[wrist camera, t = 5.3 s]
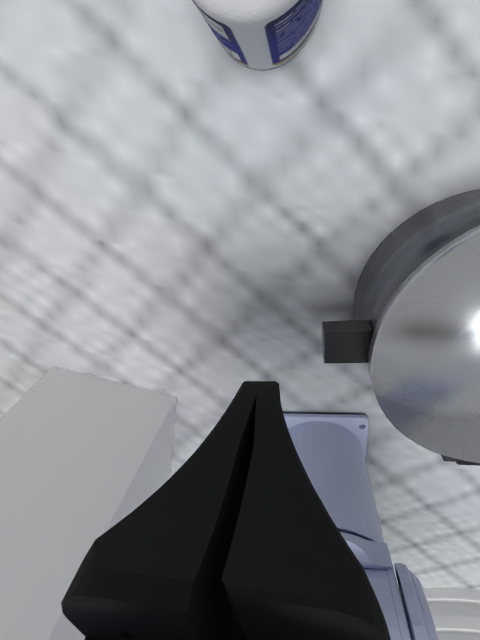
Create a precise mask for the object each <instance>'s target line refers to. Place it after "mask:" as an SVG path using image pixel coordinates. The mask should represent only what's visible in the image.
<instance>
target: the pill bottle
mask: <svg viewBox="0 0 480 640" xmlns="http://www.w3.org/2000/svg"><path fill="white" fill-rule="evenodd" d="M193 2H194V4H195V5H196V7H197V8H198V10H199V11H200V13H201V14H202V16H203V17H204V19H205V20H206V22H207V23H208V25H209V27H210V28H211V30H212V31H213V33H214V34H215V36H216V38H217V39H218V41H219V42H220V44H221V45H222V46H223V48H224V49H225V50H226V52H227V53H228V54H229V55H230V56H231V57H232V58H233V59H234V60H236V61H237V62H239V63H240V64H242V65H244V66H246V67H249V68H253V69H258V70H266V69H272V68H275V67H278V66H280V65H282V64H284V63H286V62H287V61H288V60H290V59H291V58H292V57H294V56H295V55H296V54H297V53H298V52H299V51H300V50H301V48H302V47H303V46H304V45H305V43H306V42H307V40H308V39H309V37H310V36H311V34H312V32H313V30H314V28H315V25H316V23H317V21H318V18H319V15H320V11H321V8H322V3H323V0H193Z"/></svg>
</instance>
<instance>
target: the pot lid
mask: <svg viewBox="0 0 480 640" xmlns="http://www.w3.org/2000/svg"><path fill="white" fill-rule="evenodd" d="M368 356H369V374H370V379H371V384H372V387H373V389H374V392H375V395H376V398H377V400H378V403H379V405H380V407H381V409H382V410H383V412H384V414H385V415H386V417H387V418H388V419H389V421H390V422H391V423H392V424H393V425H394V426H395V427H396V428H397V429H398V430H399V431H400V432H401V433H402V434H404V435H405V436H406V437H408V438H409V439H411V440H412V441H414V442H415V443H417V444H418V445H421V446H423V447H425V448H427V449H429V450H431V451H433V452H436V453H439V454H441V455H444V456H447V457H451V458H454V460H455V462H456V463H457V464H458V465H479V466H480V225H479V226H477V227H475V228H473V229H471V230H469V231H467V232H465V233H464V234H462V235H461V236H459V237H457V238H456V239H454V240H453V241H451V242H449V243H448V244H446V245H445V246H443V247H442V248H441V249H440V250H438V251H437V252H436V253H434V254H433V255H432V256H430V257H429V258H428V259H426V260H425V261H424V262H423V263H422V264H421V265H420V266H419V267H418V268H417V269H416V270H415V271H414V272H413V273H411V274H410V275H409V276H408V277H407V279H406V280H405V281H404V282H403V283H402V285H401V286H400V287H399V288H398V289H397V290H396V292H395V293H394V294H393V296H392V297H391V299H390V300H389V302H388V303H387V305H386V306H385V308H384V310H383V312H382V314H381V316H380V318H379V320H378V322H377V324H376V326H375V329H374V332H373V335H372V339H371V343H370V349H369V355H368Z"/></svg>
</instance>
